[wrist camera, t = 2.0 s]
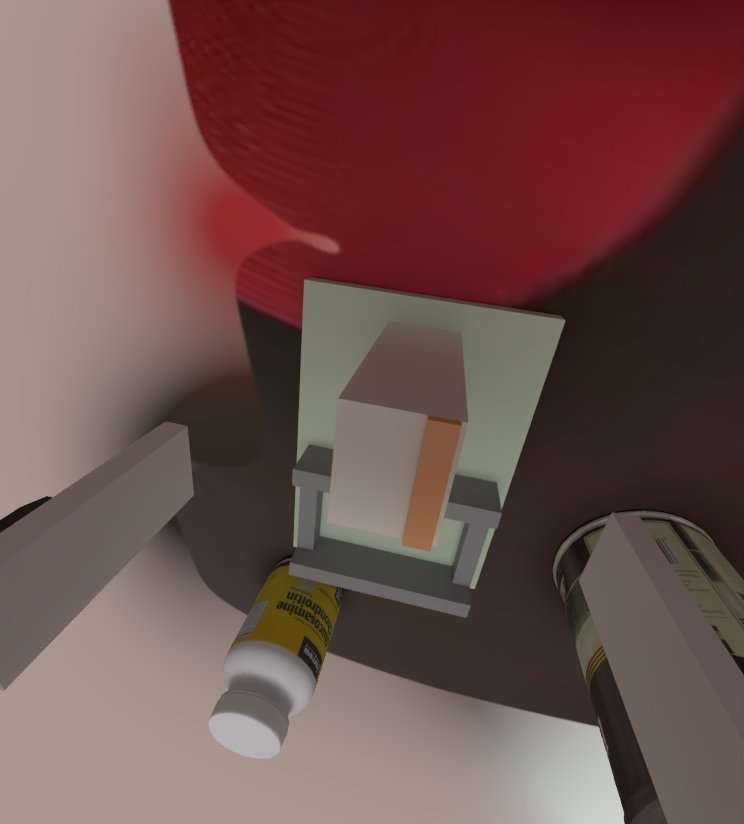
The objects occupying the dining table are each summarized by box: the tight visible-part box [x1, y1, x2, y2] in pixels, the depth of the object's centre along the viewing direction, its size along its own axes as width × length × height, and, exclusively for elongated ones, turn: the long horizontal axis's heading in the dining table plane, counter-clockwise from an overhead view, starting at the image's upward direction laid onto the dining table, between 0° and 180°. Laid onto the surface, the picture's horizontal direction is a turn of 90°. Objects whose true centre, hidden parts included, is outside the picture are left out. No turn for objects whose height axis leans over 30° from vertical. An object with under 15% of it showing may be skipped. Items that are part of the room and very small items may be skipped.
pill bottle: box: [208, 558, 343, 759], centre depth 29 cm, size 6×6×12 cm
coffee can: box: [553, 510, 744, 824], centre depth 21 cm, size 10×10×14 cm
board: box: [289, 277, 565, 618], centre depth 25 cm, size 20×14×4 cm
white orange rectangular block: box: [327, 321, 468, 552], centre depth 18 cm, size 5×4×11 cm
